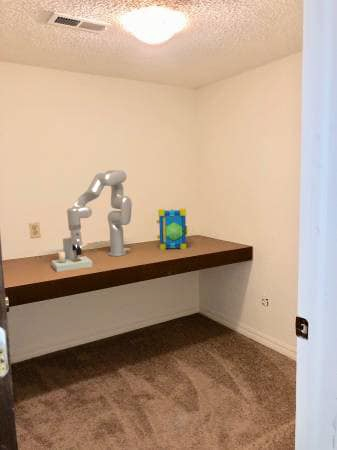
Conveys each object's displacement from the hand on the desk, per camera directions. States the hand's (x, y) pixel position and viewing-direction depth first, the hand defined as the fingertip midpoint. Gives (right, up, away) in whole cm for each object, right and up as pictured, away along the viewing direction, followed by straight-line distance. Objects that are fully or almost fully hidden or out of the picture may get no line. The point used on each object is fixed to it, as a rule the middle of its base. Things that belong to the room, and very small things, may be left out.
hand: (77, 253), depth 235 cm
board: (-3, -8, -1) cm, 9 cm away
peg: (0, -8, +1) cm, 8 cm away
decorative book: (+62, 0, +45) cm, 76 cm away
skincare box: (-9, -6, +19) cm, 21 cm away
